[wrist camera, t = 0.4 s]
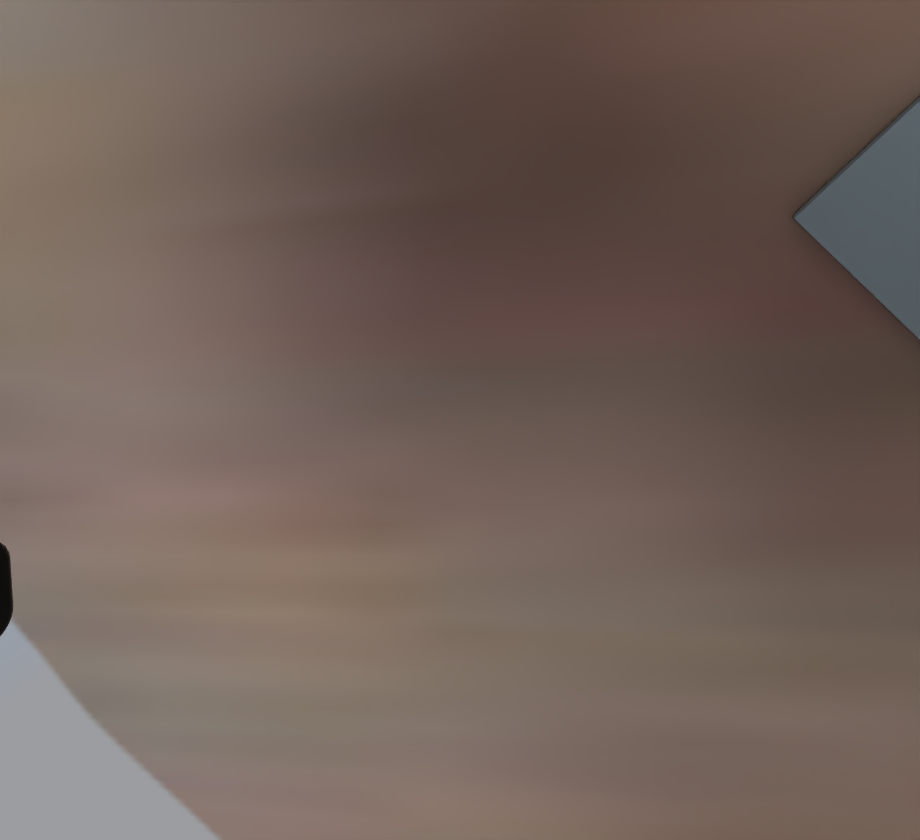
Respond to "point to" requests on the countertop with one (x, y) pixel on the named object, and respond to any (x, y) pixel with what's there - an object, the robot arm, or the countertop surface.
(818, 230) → the mat
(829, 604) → the countertop surface
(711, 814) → the countertop surface
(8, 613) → the robot arm
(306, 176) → the countertop surface
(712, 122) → the countertop surface
